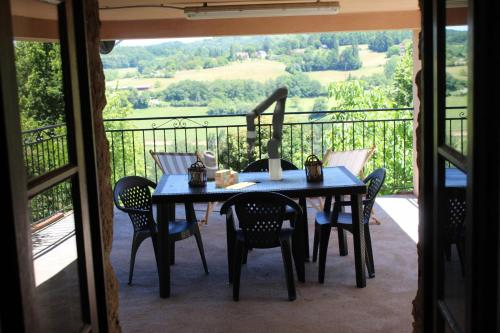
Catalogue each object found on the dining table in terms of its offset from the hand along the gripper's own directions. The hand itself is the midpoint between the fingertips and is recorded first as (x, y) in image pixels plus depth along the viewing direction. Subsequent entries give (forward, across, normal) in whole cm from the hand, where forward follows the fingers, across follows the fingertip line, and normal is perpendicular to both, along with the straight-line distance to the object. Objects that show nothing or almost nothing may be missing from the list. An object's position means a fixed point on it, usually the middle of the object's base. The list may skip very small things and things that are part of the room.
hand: (251, 156), depth 552 cm
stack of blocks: (+20, -24, +12) cm, 33 cm away
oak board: (+19, -26, +1) cm, 32 cm away
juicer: (+22, +3, +39) cm, 45 cm away
